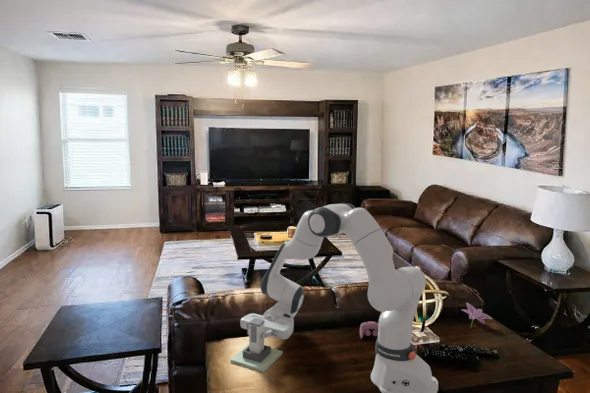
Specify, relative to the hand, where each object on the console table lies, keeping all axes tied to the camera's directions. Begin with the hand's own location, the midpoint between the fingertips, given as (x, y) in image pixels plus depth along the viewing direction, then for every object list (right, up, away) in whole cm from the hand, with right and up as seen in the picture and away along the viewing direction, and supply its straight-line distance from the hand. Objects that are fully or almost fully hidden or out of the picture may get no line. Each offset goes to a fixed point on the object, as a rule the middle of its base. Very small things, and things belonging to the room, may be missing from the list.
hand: (255, 335), depth 169 cm
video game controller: (+46, -7, +20) cm, 50 cm away
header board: (0, -9, +3) cm, 10 cm away
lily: (+93, -5, +32) cm, 98 cm away
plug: (0, -7, +2) cm, 7 cm away
